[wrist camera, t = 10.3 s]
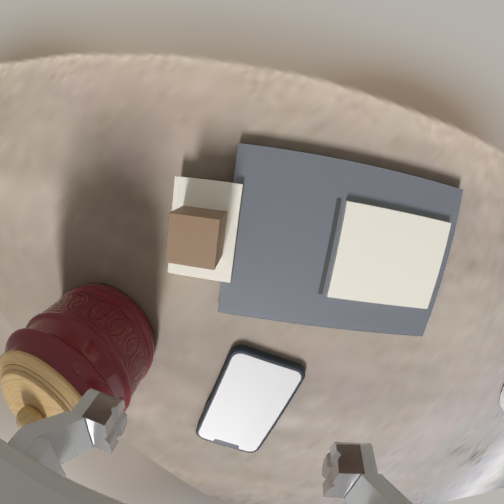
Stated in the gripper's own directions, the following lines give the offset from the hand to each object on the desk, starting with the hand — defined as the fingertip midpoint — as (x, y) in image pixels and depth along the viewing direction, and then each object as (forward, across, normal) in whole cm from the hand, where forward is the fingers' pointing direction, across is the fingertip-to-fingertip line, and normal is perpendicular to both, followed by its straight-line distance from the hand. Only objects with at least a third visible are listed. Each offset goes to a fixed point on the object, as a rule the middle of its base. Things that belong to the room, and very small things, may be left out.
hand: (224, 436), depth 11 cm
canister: (+20, +17, +12) cm, 29 cm away
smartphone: (+21, -1, +18) cm, 28 cm away
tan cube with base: (+20, +6, -3) cm, 21 cm away
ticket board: (+21, -7, -3) cm, 23 cm away
